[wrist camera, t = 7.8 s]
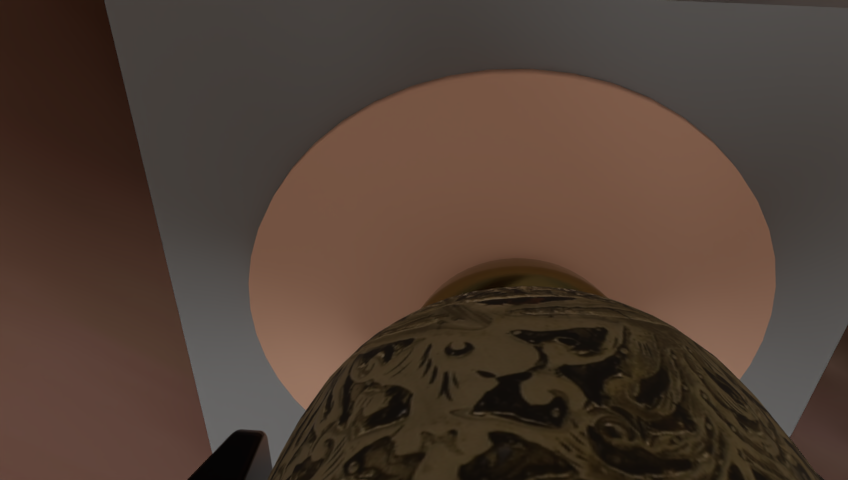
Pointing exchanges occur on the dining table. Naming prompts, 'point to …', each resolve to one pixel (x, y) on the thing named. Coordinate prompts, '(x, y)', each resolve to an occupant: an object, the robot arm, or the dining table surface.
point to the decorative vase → (534, 394)
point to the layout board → (489, 174)
